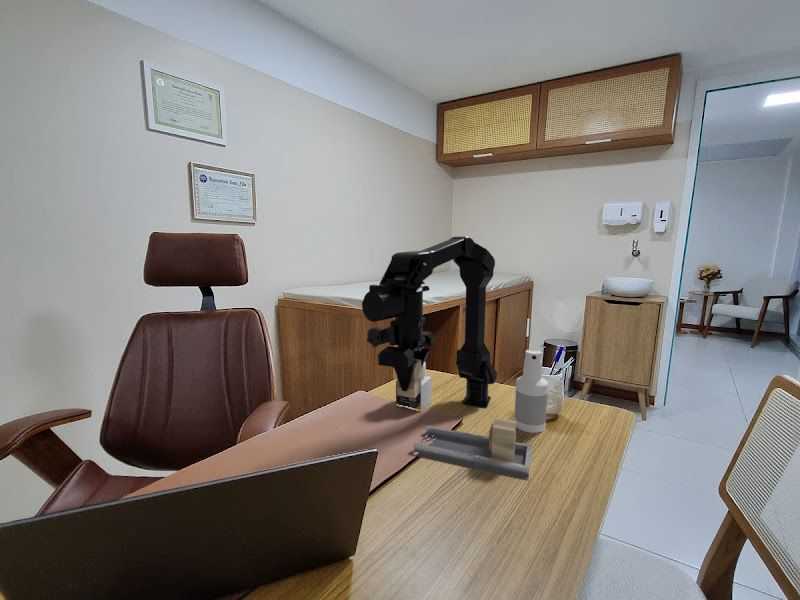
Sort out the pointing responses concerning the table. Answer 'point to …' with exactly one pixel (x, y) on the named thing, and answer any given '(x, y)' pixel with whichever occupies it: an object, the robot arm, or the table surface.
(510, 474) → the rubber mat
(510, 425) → the beige upright rectangular block
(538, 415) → the spray bottle
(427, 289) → the robot arm
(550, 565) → the table surface
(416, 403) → the medicine bottle
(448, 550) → the table surface
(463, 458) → the grey tray
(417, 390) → the beech finger
